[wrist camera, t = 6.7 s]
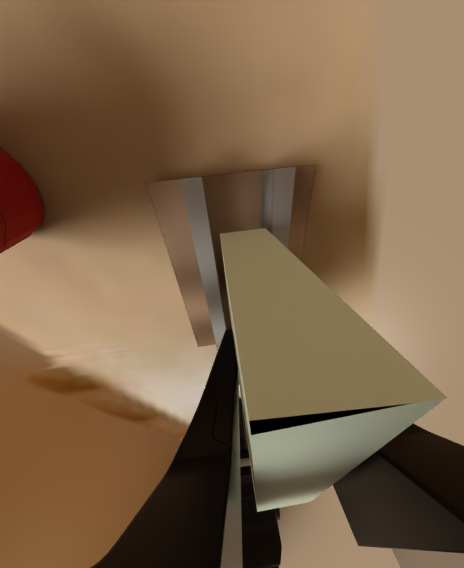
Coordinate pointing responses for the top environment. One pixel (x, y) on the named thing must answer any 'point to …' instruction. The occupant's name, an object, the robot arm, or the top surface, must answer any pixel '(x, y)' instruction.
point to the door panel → (309, 374)
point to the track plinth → (225, 231)
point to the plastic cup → (17, 203)
